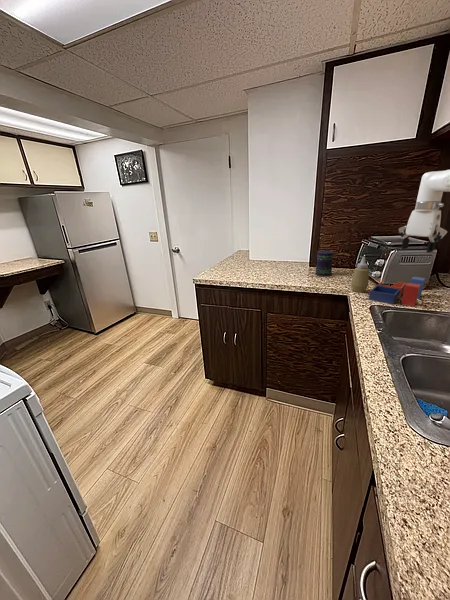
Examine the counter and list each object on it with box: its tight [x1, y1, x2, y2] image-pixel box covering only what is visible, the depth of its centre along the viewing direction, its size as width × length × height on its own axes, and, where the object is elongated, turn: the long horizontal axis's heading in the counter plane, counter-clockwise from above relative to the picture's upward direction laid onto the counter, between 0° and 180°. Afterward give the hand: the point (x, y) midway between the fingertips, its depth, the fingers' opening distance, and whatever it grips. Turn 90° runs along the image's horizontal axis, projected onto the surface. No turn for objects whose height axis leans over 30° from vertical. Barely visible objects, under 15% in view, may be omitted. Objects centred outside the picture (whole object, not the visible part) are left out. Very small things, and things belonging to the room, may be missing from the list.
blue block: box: [409, 276, 426, 299], centre depth 119 cm, size 5×5×9 cm
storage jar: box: [315, 249, 335, 277], centre depth 160 cm, size 10×10×15 cm
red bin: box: [377, 281, 407, 298], centre depth 127 cm, size 10×10×4 cm
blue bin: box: [368, 284, 400, 305], centre depth 119 cm, size 10×10×4 cm
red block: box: [400, 282, 420, 307], centre depth 111 cm, size 5×5×9 cm
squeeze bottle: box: [350, 256, 370, 293], centre depth 128 cm, size 8×8×18 cm
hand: (416, 250), depth 103 cm, fingers open, 9 cm apart
